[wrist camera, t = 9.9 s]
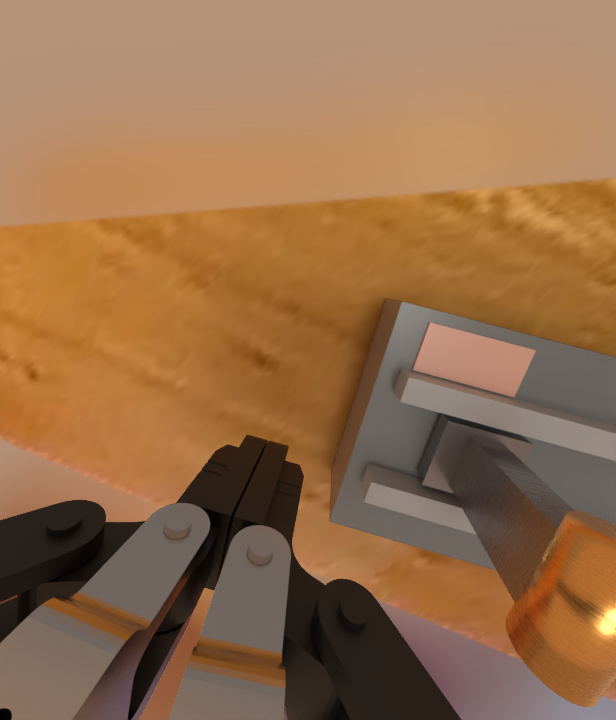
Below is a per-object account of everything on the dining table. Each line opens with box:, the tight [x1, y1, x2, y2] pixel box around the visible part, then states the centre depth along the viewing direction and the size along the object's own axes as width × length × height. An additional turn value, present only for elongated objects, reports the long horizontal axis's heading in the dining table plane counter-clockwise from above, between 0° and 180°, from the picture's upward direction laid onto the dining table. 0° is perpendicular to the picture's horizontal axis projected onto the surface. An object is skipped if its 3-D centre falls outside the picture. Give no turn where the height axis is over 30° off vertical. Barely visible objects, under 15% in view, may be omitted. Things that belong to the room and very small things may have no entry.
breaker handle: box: [417, 413, 616, 707], centre depth 11 cm, size 4×4×8 cm
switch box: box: [329, 299, 616, 571], centre depth 17 cm, size 20×13×7 cm, turn 76°
